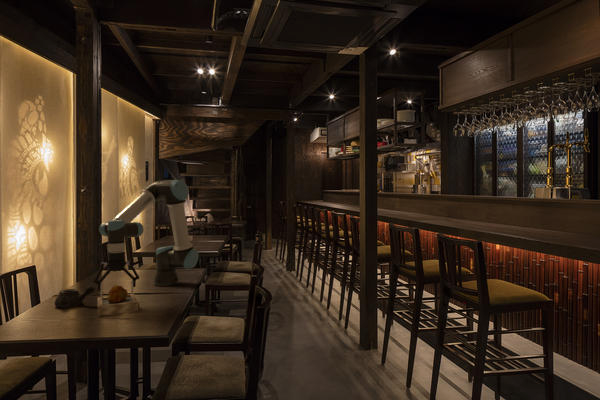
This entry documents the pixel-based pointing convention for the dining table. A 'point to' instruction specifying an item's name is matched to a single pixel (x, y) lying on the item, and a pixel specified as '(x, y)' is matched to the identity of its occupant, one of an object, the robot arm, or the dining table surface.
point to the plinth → (117, 305)
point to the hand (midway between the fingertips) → (117, 295)
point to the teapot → (72, 297)
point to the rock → (117, 294)
